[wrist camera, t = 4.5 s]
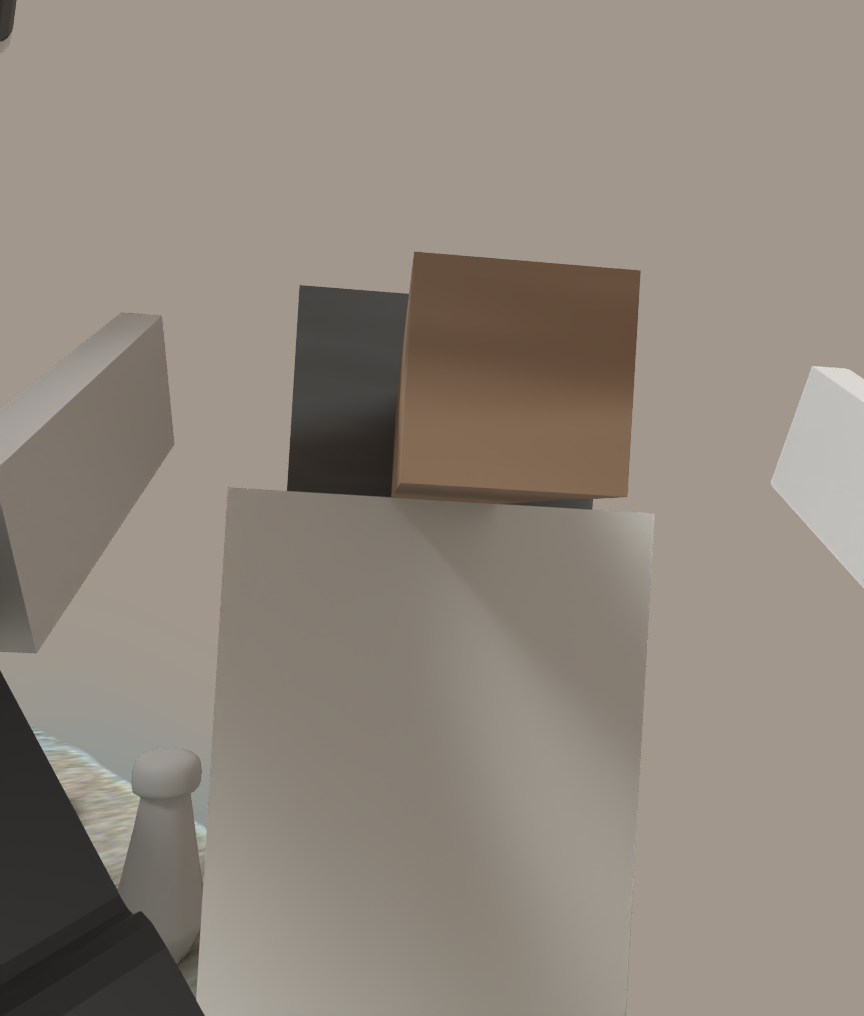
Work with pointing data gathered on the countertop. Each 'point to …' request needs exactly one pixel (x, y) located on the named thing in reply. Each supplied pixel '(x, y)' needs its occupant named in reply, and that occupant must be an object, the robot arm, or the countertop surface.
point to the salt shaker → (165, 848)
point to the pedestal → (424, 758)
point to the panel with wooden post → (468, 385)
